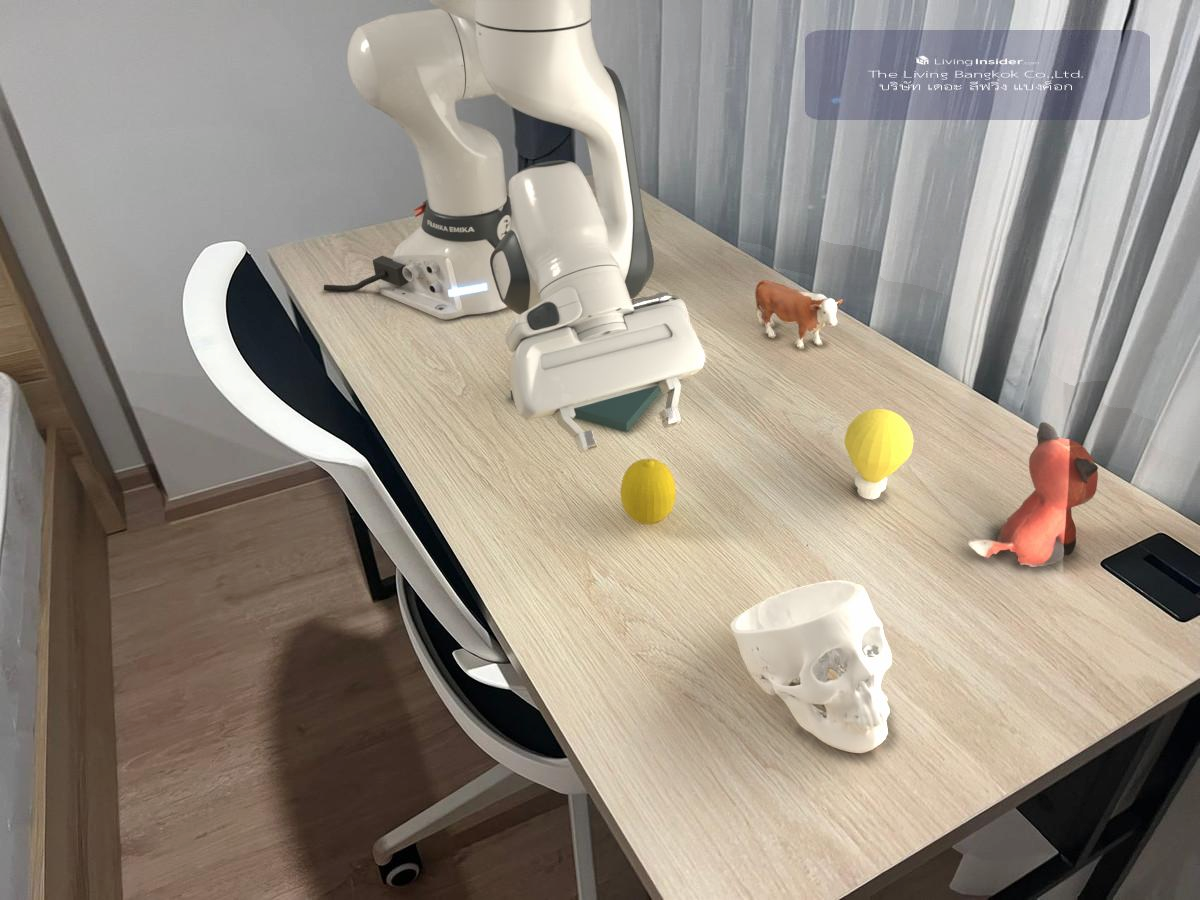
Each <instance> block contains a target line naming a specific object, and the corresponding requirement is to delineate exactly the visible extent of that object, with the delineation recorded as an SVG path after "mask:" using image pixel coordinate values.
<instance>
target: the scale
mask: <svg viewBox="0 0 1200 900" xmlns="http://www.w3.org/2000/svg"><path fill="white" fill-rule="evenodd" d="M661 393H662V391H661V389H660V386H659V385H658V386H654V387H650V388H647V389H643V390H639V391H636V392H632V393H629V394H625V395H621V396H618V397H614V398H611V399H607V400H603V401H600V402H596V403H592V404H589V405H585V406H582V407H578V408H574V411H575V414H576V415H575V417H574V418H573V419H578V420H581V421H585V422H587V423H591V424H595V425H598V426H602V427H604V428H605V427H606V428H609V429H612V430H616V431H619V432H623V433H628V432H629V430H631V428H632V427H633V426H634V425H635V424H636V422H637V421H638V420H639V419H640V418H641V416H642V415H643V414H644V413H645V412H646V411H647V409H648V408H649V407H650V406H651V404H652V403H653V402H654V401H655V400H656V399H657V398H658V396H659V395H660V394H661ZM510 398H511V401H513V402H514V398H513V394H512V389H510Z"/></svg>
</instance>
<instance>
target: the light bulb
mask: <svg viewBox="0 0 1200 900" xmlns="http://www.w3.org/2000/svg"><path fill="white" fill-rule="evenodd" d="M844 447H845V450H846V452H847V454H848V456H849V459H850V461H851V463H852V465H853V466H854V468H855V469H856V471H857V472H856V474H855V478H854V484H855V487H857V494H858V496H860V497H861V498H863V499H865V500H875V499H877V498H879V497H880V496H881V493H882V492H884V491H885V490H886V488H887V485H888V480H889V478H888V477H889V476H890V475H892V474H893V473H895V472H896V471H897V470H898V469H899V468H900V467H901V466H902V465H903V464H904V463H905V462H906V461H907V460H908V459H909V458H910V457H911V456H912V455H911V454H912V452H913V448H914V434H913V431H912V429H911V427H910V425H909V424H908V422H907V421H906V420H905V418H903V417H902V416H901V415H900V414H898V413H897V412H894V411H892V410H889V409H884V408H874V409H869V410H866V411H864V412H861V413H860V414H858V415H857V416H855V418H854V419H853V420H852V421H850V423H849V425H848V427H847V429H846V433H845V435H844Z"/></svg>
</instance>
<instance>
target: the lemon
mask: <svg viewBox="0 0 1200 900" xmlns="http://www.w3.org/2000/svg"><path fill="white" fill-rule="evenodd" d="M676 497H677V491H676V481H675V479H674V476H673V474H672V472H671V470H670V469H669V467H668V466H667V465H666V464H664V463H663V462H662V461H660V460H657V459H654V458H641V459H639V460H637V461H635V462H633V463H631V465H630V466H629V467H628V468H627V469H626V471H625V472H624V475H623V477H622V480H621V486H620V499H621V504H622V507H623V509H624V511H625V513H626V514H627V516H628V517H630V519H632V520H633V521H635V522H637V523H639V524H643V525H653V524H657V523H660V522H662V521H663V520H664V519H666V518H667V517H668V516H669V515H670V514H671V512H672V510H673V508H674V506H675V502H676Z"/></svg>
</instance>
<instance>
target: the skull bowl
mask: <svg viewBox="0 0 1200 900" xmlns="http://www.w3.org/2000/svg"><path fill="white" fill-rule="evenodd" d="M730 630H731V632H732V635H733V637H734V639H735V641H736V644H737V646H738V649H739V652H740V656H741V658H742V661H743V662H744V665H745V667H746V669H747V671H748V673H749V674H750V676H751V677H752V679H753V680H754V682H755V683H756V684H757V685H759V687H760V688H761V689H762V690H763V691H764V692H765V693H767V694H768V695H770V696H776V695H777V696H778V697H779V698H781V700H782V701H783V703H785V704H786V706H787V708H788V709H789V711H790V712H791V714H792V717H794V719H795V720H796V722H797V724H798V725H799V726H800V727H801V728H802V729H804V730H805V731H806V732H809V733H810V734H812V735H813V736H814V737H816V738H817V739H819V740H820V741H821V742H822V743H824V744H826V745H827V746H830V747H832V748H834V749H837V750H841V751H843V752H848V753H851V754H863V753H868V752H870V751H873V750H874V749H875V748H877V747H879V746H880V745H881V744H883V742H884V741H885V740H886V738H887V736H888V734H889V730H888V725H887V720H888V717H889V715H890V713H891V711H890V707H889V704H888V697H887V695H885V693H884V692H883V691H882V687H881V684H882V680H883V677H884V675H885V673H886V671H888V669H889V668H890V667H892V663H893V656H892V652H891V649H890V646H889V644H888V641H887V639H886V636H885V632H884V629H883V622H882V621H881V619H880V618H879V617H878V616H877V614H876V612H875V610H874V608H873V605H872V602H871V600H870V598H869V595H868V593H867V591H866V590H865V587H864V586H863V585H862V584H859V583H855V582H852V581H848V580H840V579H839V580H838V579H836V580H835V579H834V580H826V581H819V582H815V583H811V584H810V583H809V584H806V585H802V586H797V587H795V588H791V589H788V590H785V591H782V592H779V593H777V594H774V595H772V596H770V597H768V598H766V599H764V600H762V601H760V602H758V603H756V604H754V605H753V606H751V607H749V608H747V609H745V610H744V611H742V612H741V613H739V614H738V615H737V616H736V617H735V618H733V620H732V621H731V623H730ZM830 669H831V670H832V671H833V672H836V673H837V674H838V675H839V676H837V677H836V679H832V678H828V676H829V674H828V673H829V670H830ZM792 683H794V684H796V685H791V684H792ZM798 683H800V684H798ZM815 705H823V706H824V708H825V710H826V711H824V710H822V709H820V708H818V707H816V706H815Z"/></svg>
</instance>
